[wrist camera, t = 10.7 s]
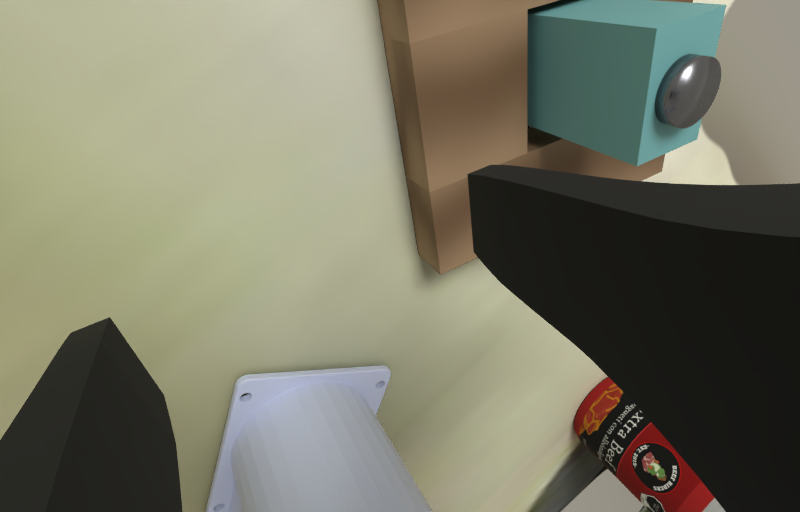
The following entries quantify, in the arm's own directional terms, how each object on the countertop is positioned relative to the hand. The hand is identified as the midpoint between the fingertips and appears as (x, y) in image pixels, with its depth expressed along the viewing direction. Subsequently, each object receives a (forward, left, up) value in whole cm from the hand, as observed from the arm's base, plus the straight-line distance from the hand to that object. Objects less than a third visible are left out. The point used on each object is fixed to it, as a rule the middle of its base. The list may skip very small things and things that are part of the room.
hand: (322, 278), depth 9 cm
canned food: (-16, -34, -10) cm, 39 cm away
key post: (+6, -12, -9) cm, 16 cm away
